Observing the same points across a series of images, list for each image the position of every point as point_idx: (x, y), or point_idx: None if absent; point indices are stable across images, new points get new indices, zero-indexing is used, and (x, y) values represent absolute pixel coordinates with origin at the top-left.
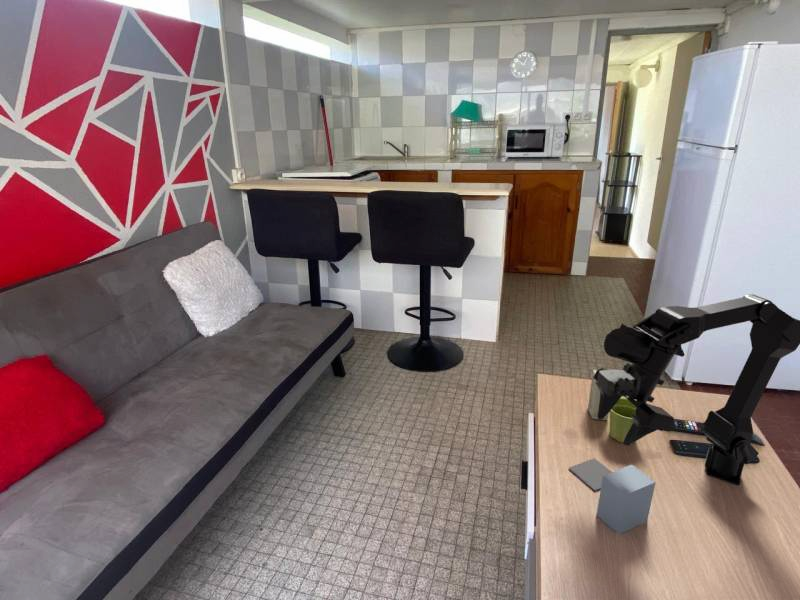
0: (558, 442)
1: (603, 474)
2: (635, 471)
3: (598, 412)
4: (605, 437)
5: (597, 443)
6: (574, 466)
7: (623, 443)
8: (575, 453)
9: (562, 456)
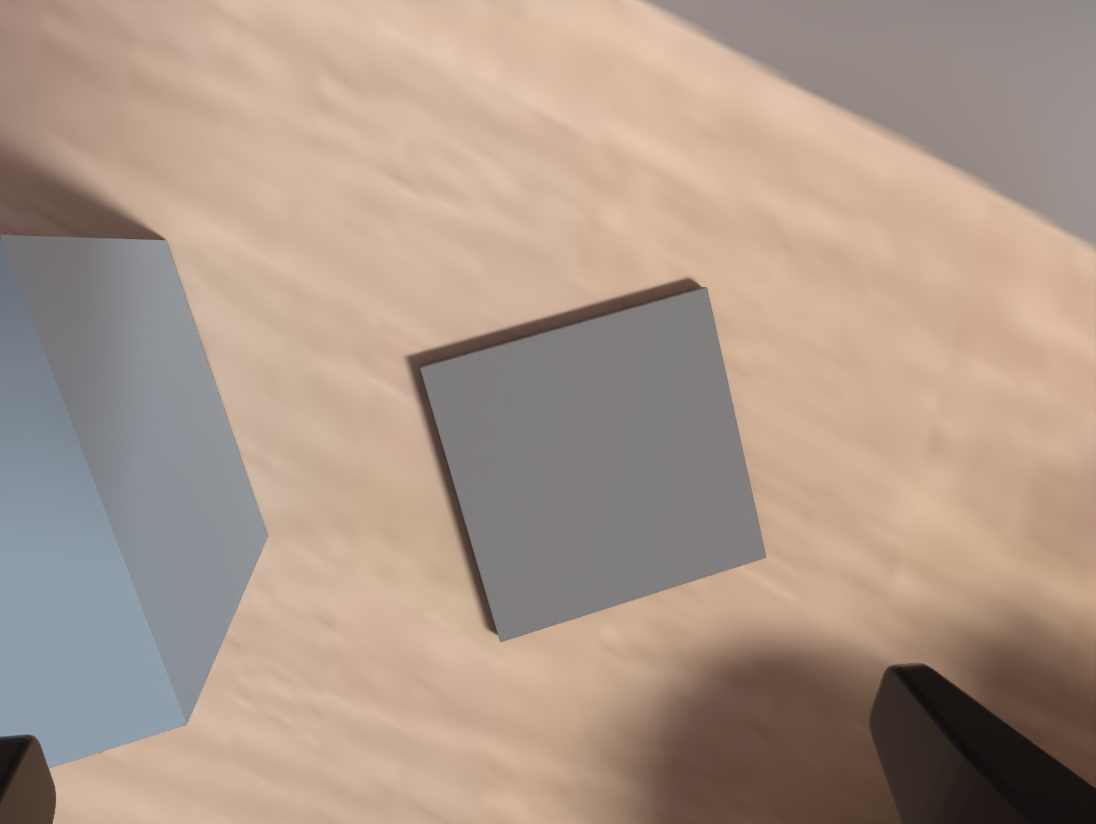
0: (1012, 366)
1: (575, 531)
2: (49, 701)
3: (996, 727)
4: None
5: None
6: (709, 343)
7: (5, 740)
8: (859, 440)
9: (851, 313)
